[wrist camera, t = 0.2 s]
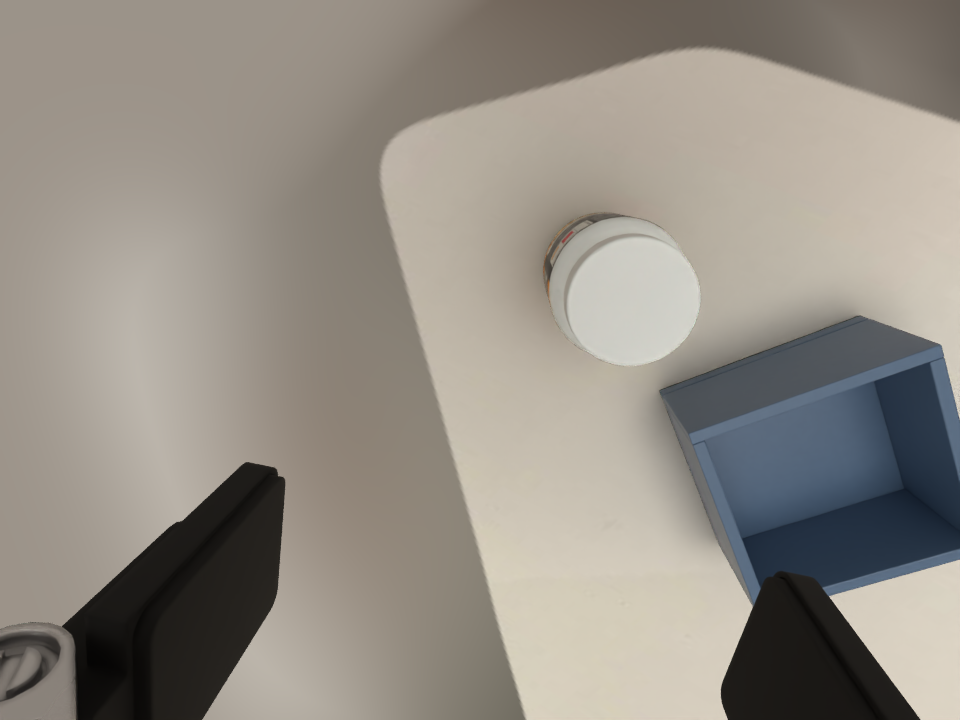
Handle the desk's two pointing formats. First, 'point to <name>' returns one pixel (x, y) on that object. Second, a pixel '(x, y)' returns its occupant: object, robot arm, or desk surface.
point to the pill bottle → (621, 288)
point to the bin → (827, 457)
